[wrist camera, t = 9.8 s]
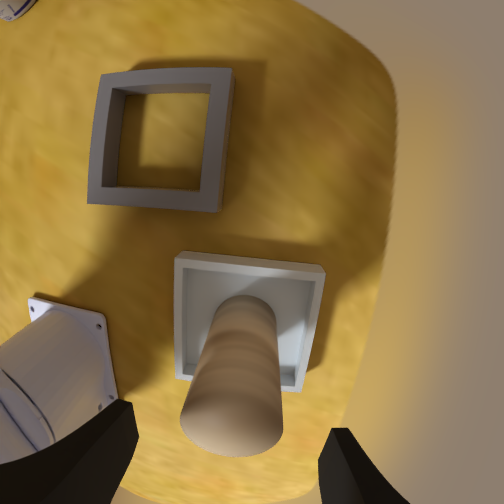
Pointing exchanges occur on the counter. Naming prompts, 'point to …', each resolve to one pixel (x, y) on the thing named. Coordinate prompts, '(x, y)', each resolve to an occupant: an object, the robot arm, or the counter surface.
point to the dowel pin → (237, 382)
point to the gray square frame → (109, 133)
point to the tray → (254, 284)
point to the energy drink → (14, 8)
